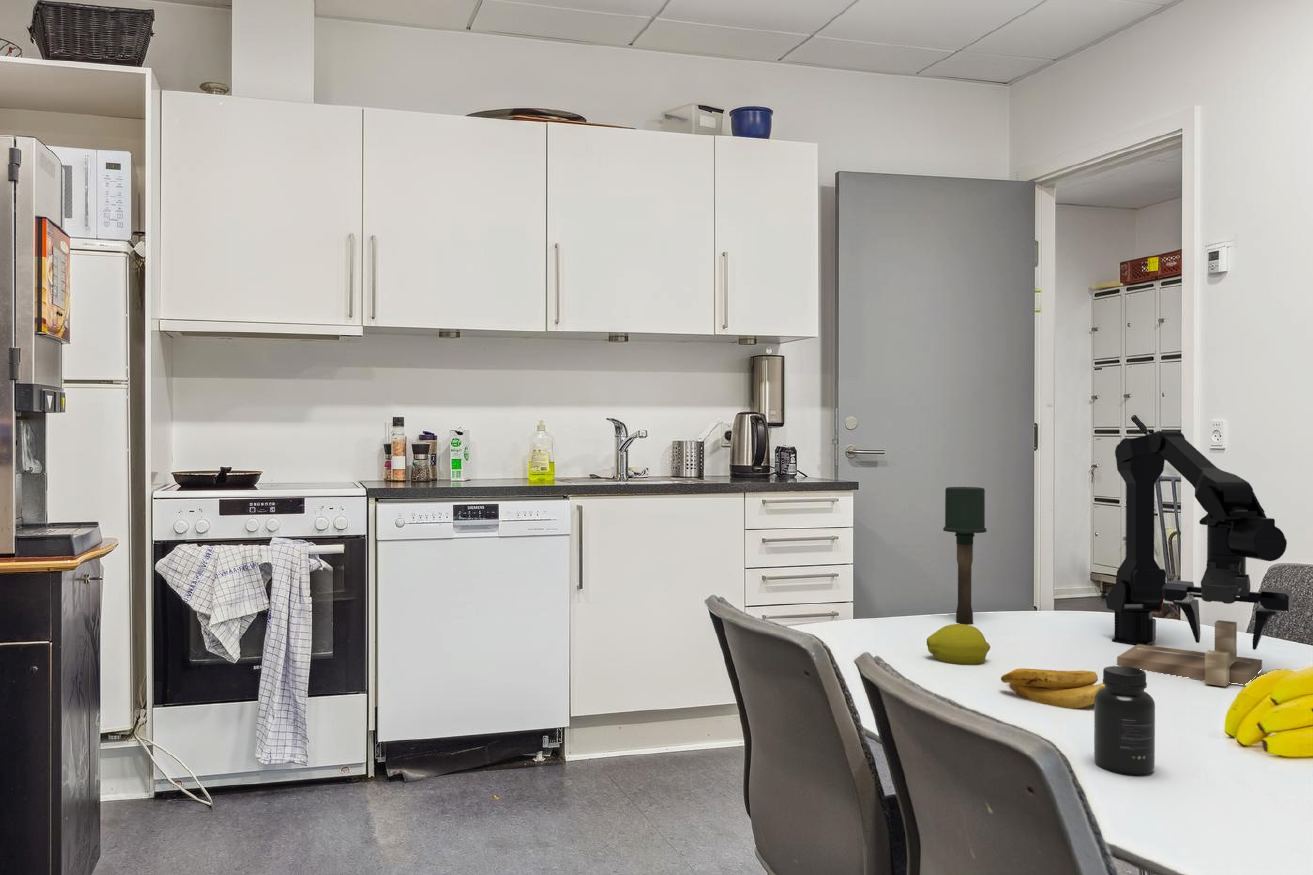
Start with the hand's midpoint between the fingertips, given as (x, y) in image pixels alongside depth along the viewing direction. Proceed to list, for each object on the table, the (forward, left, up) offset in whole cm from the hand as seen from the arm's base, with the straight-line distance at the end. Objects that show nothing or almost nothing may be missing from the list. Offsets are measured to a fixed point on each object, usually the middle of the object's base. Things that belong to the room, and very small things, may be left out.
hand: (1225, 645), depth 170 cm
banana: (-17, -33, -6) cm, 37 cm away
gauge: (0, +4, -3) cm, 5 cm away
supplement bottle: (-1, -60, -6) cm, 60 cm away
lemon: (-37, -24, -6) cm, 44 cm away
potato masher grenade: (-49, +8, -6) cm, 50 cm away
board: (-6, +2, -5) cm, 8 cm away
